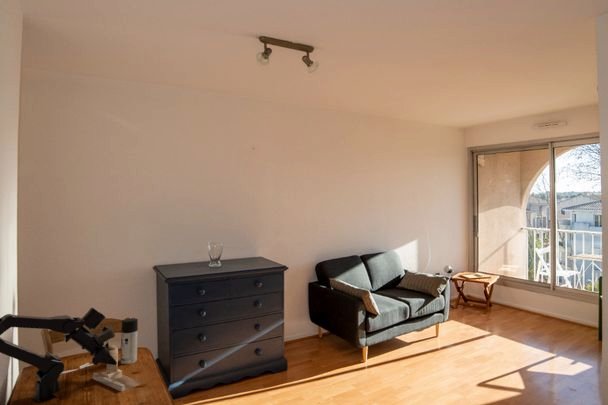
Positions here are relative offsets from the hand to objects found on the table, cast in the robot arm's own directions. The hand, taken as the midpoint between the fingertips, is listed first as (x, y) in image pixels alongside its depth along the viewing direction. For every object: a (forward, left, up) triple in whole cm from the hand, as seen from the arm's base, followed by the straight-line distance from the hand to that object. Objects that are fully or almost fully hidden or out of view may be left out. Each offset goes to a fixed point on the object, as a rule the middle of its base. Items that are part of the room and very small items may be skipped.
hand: (116, 362), depth 158 cm
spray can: (+13, +11, -8) cm, 19 cm away
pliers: (-5, +22, -8) cm, 24 cm away
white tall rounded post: (-1, +1, -6) cm, 6 cm away
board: (-2, -4, -8) cm, 9 cm away
